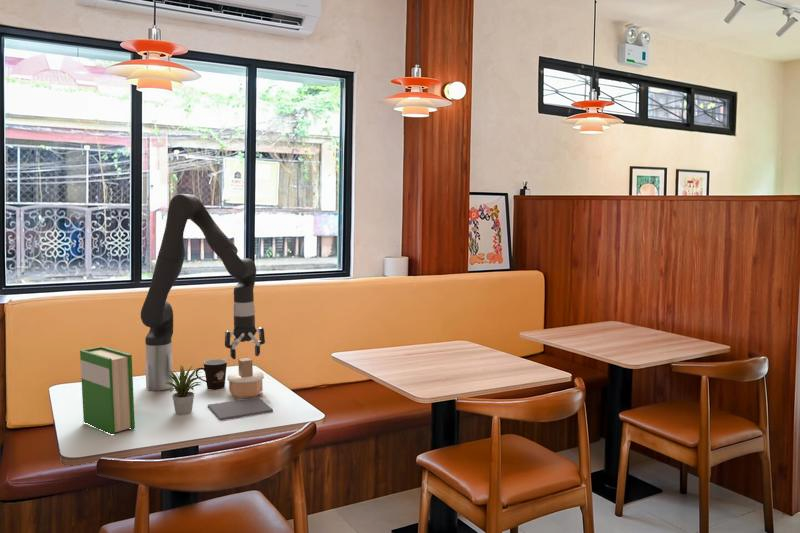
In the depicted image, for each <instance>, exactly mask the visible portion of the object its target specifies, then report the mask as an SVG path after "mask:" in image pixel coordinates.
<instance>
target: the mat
mask: <svg viewBox="0 0 800 533" xmlns="http://www.w3.org/2000/svg"><path fill="white" fill-rule="evenodd" d="M207 408H208V409H209V410H210V411H211V412H212V413H213V414H214V416H215V417H216V418H217V420H219V421H220V420H221V421H226V420H230V419H238V418H244V416H245V417H250V415H251V416H256V415H262V413H263V414H266V413H273V412H274V409H273V408H272V407H271V406H270V405H268V404H267V403H266V402H265V401H264V400H263V399H262V398H260V397H259V396H255V397H251V398H240V399H237V400H235V399H234V400H229V401H224V402H218V403H210V404H207Z"/></svg>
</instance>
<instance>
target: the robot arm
mask: <svg viewBox="0 0 800 533" xmlns="http://www.w3.org/2000/svg"><path fill="white" fill-rule="evenodd" d="M188 220H190V221H192V222H193V223H194V224H195V225H196V226H197V227H198V228H199V229H200V231H201V233H202V234H203V236H204V239H205V240H206V243H207V245H208V246H209V247H210V249H211V250H212V251H213V252H214V254H216V256H218V258H219V259H220V260H221V261H222V264H223V265H224V268H225V270H226V271H227V273H228V274H229V275H230V276H231V277H232V278H233V279H236V280H237V281H238V282H237V285H236V286H234V288H233V310H232V311H233V330H225V331H224V347H225V348H226V349H230V350H229V352H230V355H229V356H230V357H231V358H232V360H236V358H237V355H236V347H237V346H238V345H239V344H240V343H243V342H244V343H245V342H250V341H252V342H253V344H254V356H255V357H259V356H260V354H261V346H262V345H264V344H266V339H265V329H264V327H261V326H260V327H257V328H256V317H255V316H256V314H255V313H256V310H255V302H254V301H255V300H254V298H255V297H254V289H255V288H254V287H255V285H256V277H257V266H256V264H255V262H254V261H253V260H252V259H251V258H240V257H239V255H238V248H237V246H236V245H235V244H234V243H233V241H232V240H231V239H230V238H229V237H228V236H227V235H226V234H225V233H224V231H223V230H222V229H221V228H220V227H219V225H218V224H217V223H216V222H215V221H214V219H213V217H212V216H211V214H210V213H209V211H208V210H207V209H206V207H205V205H204V203H203V202H202V200H200V198H199V197H198V196H197V195H194V194H191V193H178V194H175V195H174V196H173V197H172V198H171V199H170V201H169V204H168V209H167V215H166V220H165V222H166V223H165V226H164V227H165V228H164V233H163V236H162V240H161V244H160V248H159V251H158V255H157V257H156V260H155V261H156V262H155V266H154V270H153V274H152V276H151V281H150V285H149V289H148V292H147V294H146V297H145V300H144V302H143V305H142V307H141V310H140V320H141V322H142V324H143V325H144V326H146V327H147V328H149V331H148V333H147V334H146V336H145V340H144V341H145V342H144V343H145V360H146V362H145V387H146V389H147V390H148V391H149V392H150V391H155V392H156V391H158V392H159V391H165V390H169V389H170V387H172V388H174V387H173V386H172V385H169V384H165V383H167V382H171V383H173V384H174V382H173V381H174V380H173V379H172V378H171V377H170V376H169V377H170V378H171V379H172V380H173V381H172V380H171V379H170V378H169V377H168V376H166V375H170V374H171V376H172V373H171V372H170V371H173V353H172V349H173V348H172V345H173V344H172V338H173V334H174V310H173V307H172V305H171V304H170V302H168V301H167V298H168V295H169V293H170V291H171V289H172V288H173V286H174V284H175V282H176V281H177V280H178V279H179V276H180V274H181V271H182V268H183V264H184V261H185V257H186V250H185V243H184V234H185V233H184V232H185V228H186V225H187V222H188ZM256 333H257V334H258V337H259V340H257V338H256V337H255V335H256ZM233 336H234V338H233V340H232V342H231V337H233ZM168 373H169V374H168Z"/></svg>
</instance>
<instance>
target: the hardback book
mask: <svg viewBox="0 0 800 533" xmlns="http://www.w3.org/2000/svg"><path fill="white" fill-rule="evenodd" d="M79 355H80V356H79V359H80V372H81V374H80V379H81V393H82V394H81V396H82V399H81V400H82V412H83V413H82V414H83V418H82V419H83V423H84V422H85V423H88V424H90V425H92V426H94V427H96V428H98V429H101V430H103V431H105V432H108V433H110V434H115V435H116V433H119V432H122V431H124V430H130V429H129V428H131V429H134V428H135V429H136V426H135V425H136V423H135V405H134V404H135V403H134V402H135V401H134V381H133V380H134V379H133V377H134V375H133V356H132V354H131V353H127V352H124V351H121V350H116V349H113V348H110V347H106V346H104V345H102V346H98V347H91V348H87V349H81V350H79Z"/></svg>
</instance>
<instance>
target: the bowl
mask: <svg viewBox="0 0 800 533" xmlns="http://www.w3.org/2000/svg"><path fill="white" fill-rule="evenodd" d="M228 383H229V384H228V385H229V390H228V391H229V393H231V395H232V397H234V398H236V397H237V398H238V399H248V398H250V397H251V398H254V397H259V395H261V392H263V391H264V390H263V379H262V380H260V381H256V382H251V383H233V382H230V381H228ZM237 398H236V399H237Z"/></svg>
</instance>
